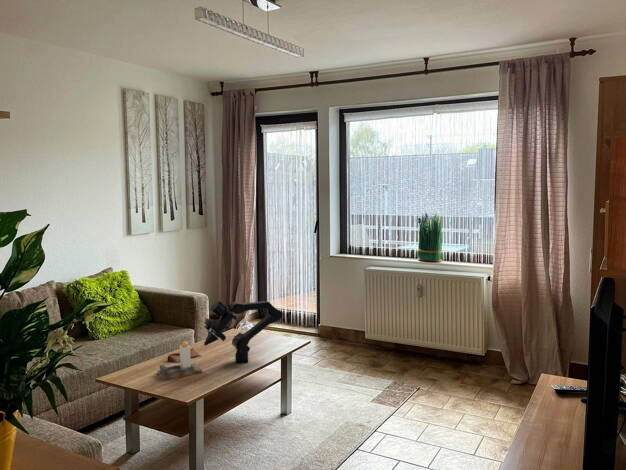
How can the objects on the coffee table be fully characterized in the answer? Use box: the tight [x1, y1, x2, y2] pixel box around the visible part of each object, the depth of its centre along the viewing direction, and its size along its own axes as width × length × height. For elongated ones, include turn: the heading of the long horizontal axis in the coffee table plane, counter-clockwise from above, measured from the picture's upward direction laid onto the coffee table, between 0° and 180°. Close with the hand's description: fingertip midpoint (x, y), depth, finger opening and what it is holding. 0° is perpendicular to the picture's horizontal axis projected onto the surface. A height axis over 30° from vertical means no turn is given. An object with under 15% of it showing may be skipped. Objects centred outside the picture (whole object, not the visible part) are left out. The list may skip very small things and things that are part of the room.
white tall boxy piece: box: [179, 341, 192, 369], centre depth 281 cm, size 4×5×14 cm
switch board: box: [157, 363, 203, 381], centre depth 280 cm, size 20×12×4 cm, turn 120°
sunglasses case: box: [167, 348, 202, 364], centre depth 304 cm, size 18×7×7 cm, turn 141°
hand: (204, 345), depth 286 cm, fingers closed
